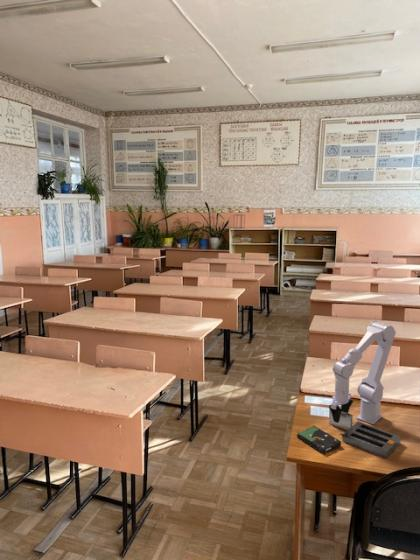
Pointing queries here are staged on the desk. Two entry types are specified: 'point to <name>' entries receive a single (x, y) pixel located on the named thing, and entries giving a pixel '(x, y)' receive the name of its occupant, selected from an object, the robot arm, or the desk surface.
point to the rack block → (371, 439)
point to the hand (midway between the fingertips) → (340, 418)
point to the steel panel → (342, 420)
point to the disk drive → (319, 439)
